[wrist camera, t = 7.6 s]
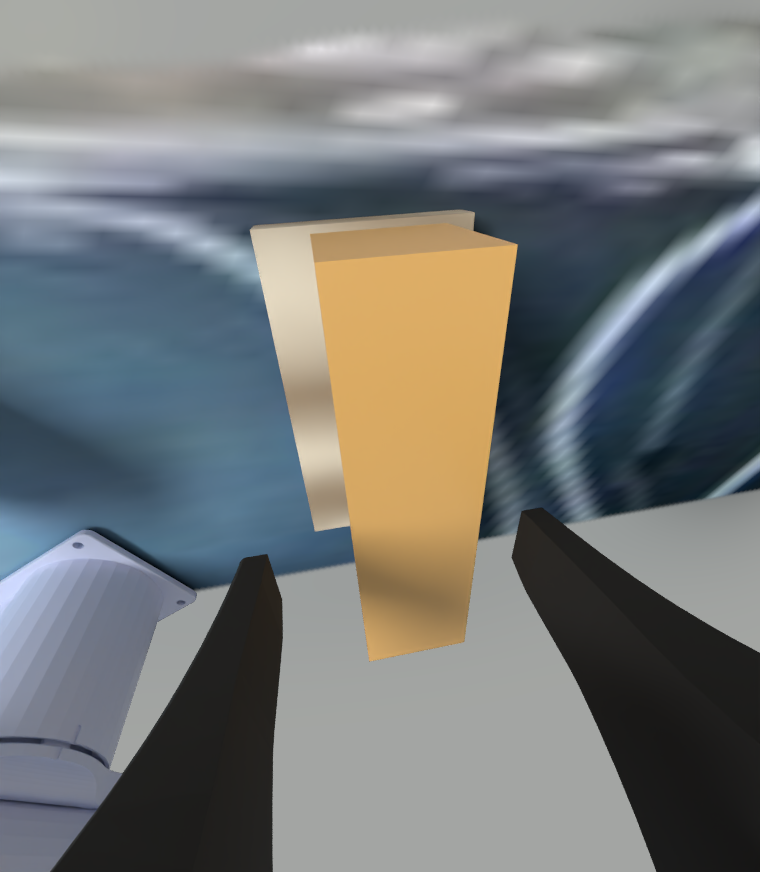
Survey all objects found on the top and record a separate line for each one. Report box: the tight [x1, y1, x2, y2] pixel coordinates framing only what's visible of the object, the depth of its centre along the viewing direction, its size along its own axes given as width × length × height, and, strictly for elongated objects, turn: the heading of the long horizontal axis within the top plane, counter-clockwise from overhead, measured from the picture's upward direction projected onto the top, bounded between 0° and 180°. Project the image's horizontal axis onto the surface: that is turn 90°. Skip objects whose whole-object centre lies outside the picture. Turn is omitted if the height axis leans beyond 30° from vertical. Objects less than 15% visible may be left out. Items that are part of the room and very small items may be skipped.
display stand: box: [250, 210, 475, 531], centre depth 17 cm, size 15×8×4 cm, turn 3°
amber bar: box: [310, 223, 518, 661], centre depth 13 cm, size 15×4×4 cm, turn 3°
